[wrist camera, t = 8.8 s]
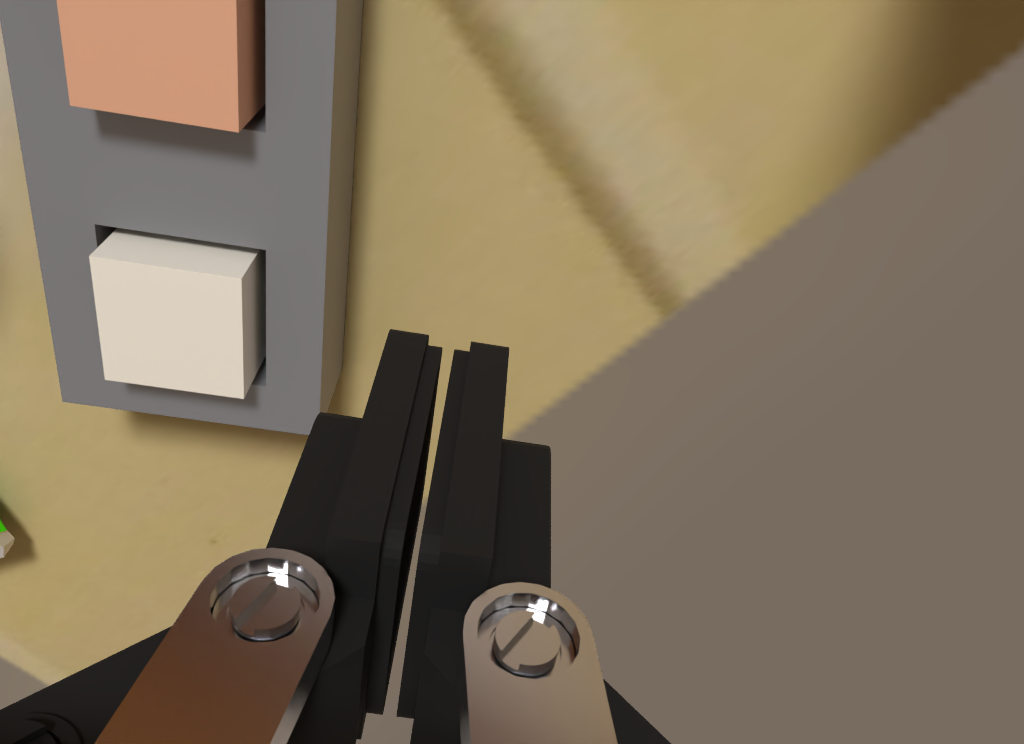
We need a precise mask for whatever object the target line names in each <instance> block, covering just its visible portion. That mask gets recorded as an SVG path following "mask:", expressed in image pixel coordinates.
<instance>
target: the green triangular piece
mask: <svg viewBox="0 0 1024 744" xmlns="http://www.w3.org/2000/svg"><path fill="white" fill-rule="evenodd" d="M14 540H15V538H14V537H13V536H12V535H11V534H10V533H9V532H8V530H7V529H6V528H5V526H4V524H3V522H2V521H1V519H0V558H4V557H5V555H6V554H7V552H8V551H9V549H10V548H11V546H12V545H13V544H14Z"/></svg>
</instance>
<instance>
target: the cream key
mask: <svg viewBox="0 0 1024 744" xmlns="http://www.w3.org/2000/svg"><path fill="white" fill-rule="evenodd" d="M89 260H90V267H91V275H92V283H93V291H94V299H95V307H96V314H97V322H98V330H99V338H100V346H101V353H102V361H103V369H104V377H105V380H110V381H117V382H124V383H132V384H139V385H146V386H153V387H160V388H168V389H175V390H182V391H189V392H196V393H204V394H211V395H218V396H225V397H233V398H240V399H244V398H245V396H246V394H247V392H248V390H249V388H250V386H251V384H252V382H253V380H254V378H255V376H256V374H257V372H258V370H259V368H260V366H261V364H262V362H263V359H264V357H265V355H266V250H262V249H256V248H249V247H242V246H236V245H229V244H223V243H216V242H209V241H203V240H196V239H189V238H183V237H176V236H170V235H163V234H156V233H150V232H143V231H136V230H130V229H123V228H117V229H116V230H115V231H114V232H113V233H112V234H111V235H110V236H109V237H108V238H107V239H106V240H105V241H104V242H103V243H102V244H101V245H100V246H99V247H98V248H97V249H96V250H95V251H94V252H93V253H92V254H91V255H90V256H89Z"/></svg>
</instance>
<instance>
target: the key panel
mask: <svg viewBox="0 0 1024 744" xmlns="http://www.w3.org/2000/svg"><path fill="white" fill-rule="evenodd" d="M362 15H363V0H265V18H266V104H265V105H264V106H263V107H262V108H261V109H260V110H259V111H258V112H257V114H256V115H255V116H254V117H253V118H252V119H251V120H250V121H249V122H248V123H247V124H246V125H245V126H244V128H243V129H242V130H241V131H240V132H239V133H238V132H232V131H226V130H219V129H213V128H207V127H201V126H194V125H188V124H182V123H176V122H169V121H163V120H157V119H151V118H144V117H138V116H132V115H126V114H119V113H113V112H107V111H101V110H94V109H88V108H82V107H76V106H70V102H69V94H68V86H67V78H66V71H65V63H64V55H63V47H62V39H61V31H60V24H59V16H58V8H57V0H0V22H1V28H2V34H3V40H4V46H5V52H6V59H7V65H8V71H9V77H10V83H11V89H12V95H13V101H14V107H15V113H16V120H17V126H18V132H19V138H20V144H21V150H22V156H23V162H24V168H25V175H26V181H27V187H28V193H29V199H30V205H31V211H32V217H33V223H34V230H35V236H36V242H37V248H38V254H39V260H40V266H41V272H42V278H43V285H44V291H45V297H46V303H47V309H48V315H49V321H50V327H51V333H52V340H53V346H54V352H55V358H56V364H57V370H58V376H59V382H60V388H61V395H62V401H63V402H69V403H76V404H83V405H91V406H98V407H105V408H113V409H120V410H127V411H135V412H142V413H149V414H157V415H164V416H171V417H179V418H186V419H193V420H201V421H208V422H215V423H223V424H230V425H237V426H245V427H252V428H259V429H266V430H274V431H281V432H288V433H296V434H303V435H309V434H310V431H311V429H312V426H313V424H314V421H315V419H316V417H317V415H318V414H319V413H320V412H323V413H327V411H328V408H329V405H330V402H331V400H332V397H333V394H334V391H335V388H336V385H337V382H338V379H339V376H340V374H341V371H342V364H343V346H344V329H345V312H346V294H347V277H348V259H349V242H350V224H351V207H352V189H353V172H354V155H355V137H356V120H357V102H358V85H359V67H360V50H361V33H362ZM117 228H123V229H130V230H136V231H143V232H150V233H156V234H163V235H170V236H176V237H183V238H189V239H196V240H203V241H209V242H216V243H223V244H229V245H236V246H242V247H249V248H256V249H262V250H266V355H265V357H264V359H263V362H262V364H261V366H260V368H259V370H258V372H257V374H256V376H255V378H254V380H253V382H252V384H251V386H250V388H249V390H248V392H247V394H246V396H245V398H244V399H240V398H233V397H225V396H218V395H211V394H204V393H196V392H189V391H182V390H175V389H168V388H160V387H153V386H146V385H139V384H132V383H124V382H117V381H110V380H105V377H104V369H103V361H102V353H101V346H100V338H99V330H98V322H97V314H96V307H95V299H94V291H93V283H92V275H91V267H90V260H89V256H90V255H91V254H92V253H93V252H94V251H95V250H96V249H97V248H98V247H99V246H100V245H101V244H102V243H103V242H104V241H105V240H106V239H107V238H108V237H109V236H110V235H111V234H112V233H113V232H114V231H115V230H116V229H117Z"/></svg>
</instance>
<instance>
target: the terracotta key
mask: <svg viewBox="0 0 1024 744" xmlns="http://www.w3.org/2000/svg"><path fill="white" fill-rule="evenodd" d="M57 8H58V16H59V24H60V31H61V39H62V47H63V55H64V63H65V71H66V78H67V86H68V94H69V102H70V106H76V107H82V108H88V109H94V110H101V111H107V112H113V113H119V114H126V115H132V116H138V117H144V118H151V119H157V120H163V121H169V122H176V123H182V124H188V125H194V126H201V127H207V128H213V129H219V130H226V131H232V132H238V133H239V132H240V131H241V130H242V129H243V128H244V126H245V125H246V124H247V123H248V122H249V121H250V120H251V119H252V118H253V117H254V116H255V115H256V114H257V112H258V111H259V110H260V109H261V108H262V107H263V106H264V105H265V104H266V18H265V0H57Z"/></svg>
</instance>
